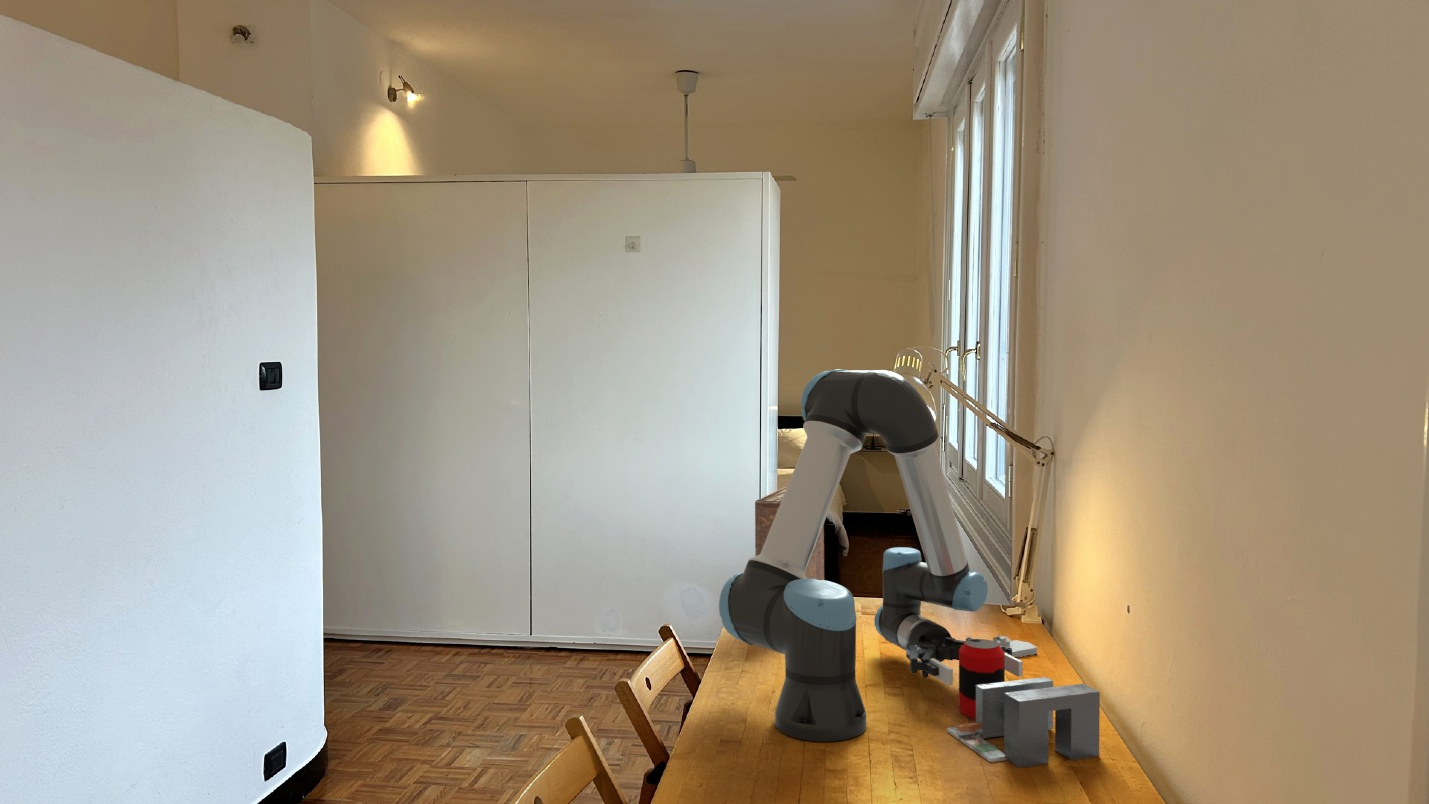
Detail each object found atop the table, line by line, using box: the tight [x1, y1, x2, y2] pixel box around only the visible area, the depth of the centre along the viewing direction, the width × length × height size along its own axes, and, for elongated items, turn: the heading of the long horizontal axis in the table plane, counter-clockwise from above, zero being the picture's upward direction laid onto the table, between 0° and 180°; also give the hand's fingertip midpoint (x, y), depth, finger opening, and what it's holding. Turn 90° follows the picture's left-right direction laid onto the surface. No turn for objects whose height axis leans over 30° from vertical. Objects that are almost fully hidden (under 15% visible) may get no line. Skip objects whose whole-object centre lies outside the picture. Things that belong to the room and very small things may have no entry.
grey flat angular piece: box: [992, 633, 1038, 658], centre depth 208 cm, size 12×11×4 cm
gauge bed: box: [946, 683, 1101, 768], centre depth 159 cm, size 17×16×10 cm
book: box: [754, 485, 825, 580], centre depth 230 cm, size 25×9×30 cm, turn 160°
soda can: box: [958, 638, 1006, 720], centre depth 173 cm, size 8×8×12 cm
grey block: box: [957, 676, 1054, 739], centre depth 161 cm, size 17×7×8 cm, turn 106°
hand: (986, 673), depth 173 cm, fingers open, 13 cm apart
